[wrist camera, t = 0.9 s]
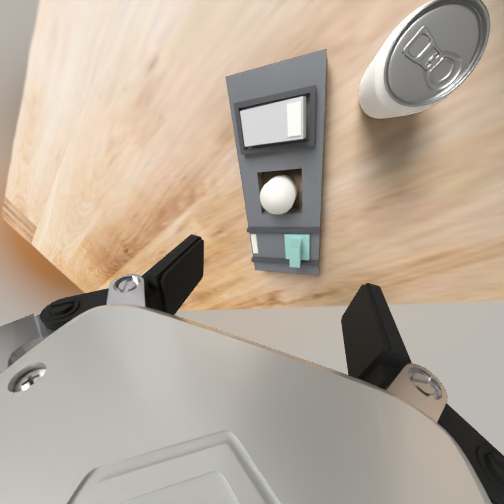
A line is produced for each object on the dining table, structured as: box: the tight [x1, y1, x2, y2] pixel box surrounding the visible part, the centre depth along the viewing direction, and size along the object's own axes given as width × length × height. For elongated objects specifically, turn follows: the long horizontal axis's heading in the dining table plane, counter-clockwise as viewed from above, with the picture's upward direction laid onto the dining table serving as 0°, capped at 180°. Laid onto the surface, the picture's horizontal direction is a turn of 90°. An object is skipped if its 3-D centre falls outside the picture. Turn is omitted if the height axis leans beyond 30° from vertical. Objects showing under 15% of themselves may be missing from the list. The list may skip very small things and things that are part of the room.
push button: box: [260, 174, 298, 215], centre depth 30 cm, size 5×5×4 cm
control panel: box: [226, 49, 327, 275], centre depth 31 cm, size 12×30×4 cm, turn 8°
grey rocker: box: [240, 96, 306, 147], centre depth 24 cm, size 8×4×1 cm, turn 98°
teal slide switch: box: [284, 233, 310, 268], centre depth 32 cm, size 4×5×4 cm
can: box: [359, 0, 490, 119], centre depth 18 cm, size 6×6×12 cm
